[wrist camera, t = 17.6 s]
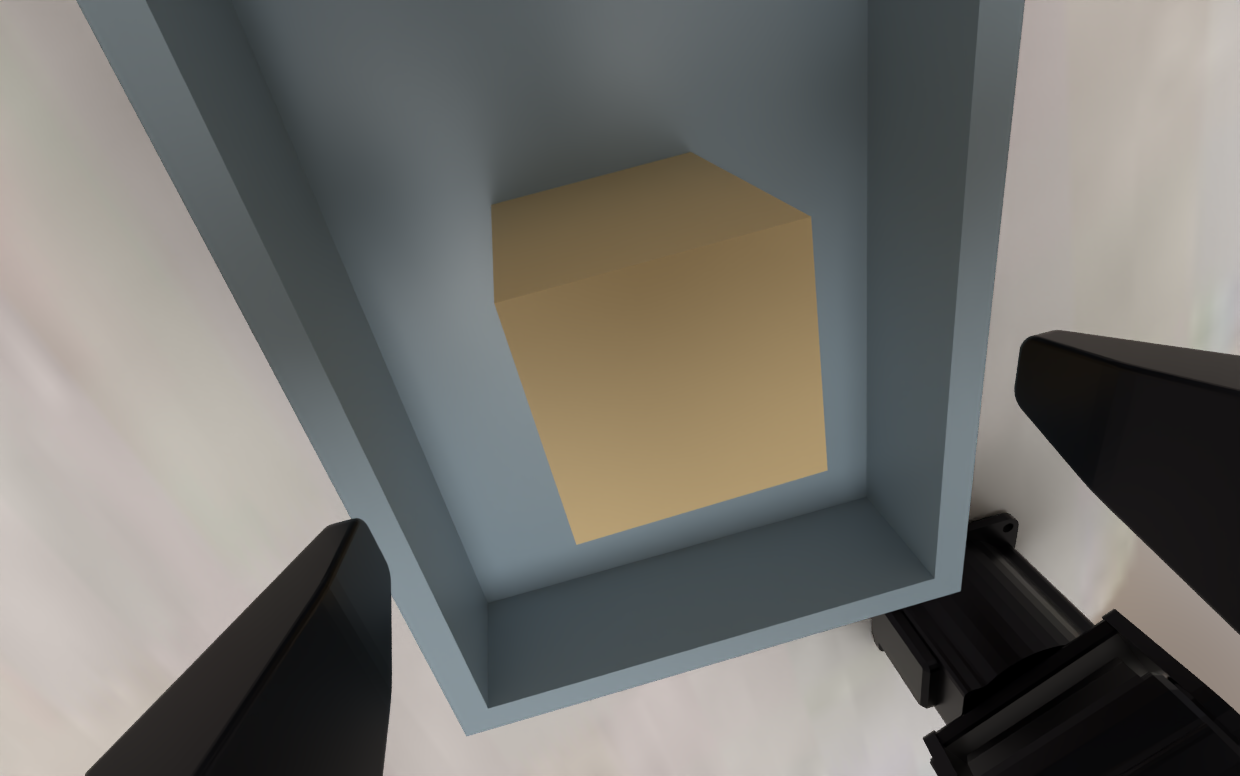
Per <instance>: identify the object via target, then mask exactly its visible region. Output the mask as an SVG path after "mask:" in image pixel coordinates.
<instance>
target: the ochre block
mask: <svg viewBox="0 0 1240 776" xmlns="http://www.w3.org/2000/svg"><path fill="white" fill-rule="evenodd" d="M491 221H492V251H493V281H494V304H495V307H496V310H497V313H498V316H499V319H500V322H501V325H502V328H503V331H504V334H505V337H506V340H507V342H508V345H509V348H510V351H511V354H512V357H513V360H514V363H515V366H516V369H517V372H518V375H519V378H520V381H521V384H522V386H523V389H524V392H525V395H526V398H527V401H528V404H529V407H530V410H531V413H532V416H533V419H534V422H535V425H536V428H537V431H538V433H539V436H540V439H541V442H542V445H543V448H544V451H545V454H546V457H547V460H548V463H549V466H550V469H551V472H552V475H553V478H554V480H555V483H556V486H557V489H558V492H559V495H560V498H561V501H562V504H563V507H564V510H565V513H566V516H567V519H568V522H569V525H570V527H571V530H572V533H573V536H574V539H575V542H576V545H578V544H581V543H585V542H588V541H591V540H595V539H598V538H601V537H605V536H608V535H612V534H615V533H618V532H622V531H625V530H628V529H632V528H635V527H638V526H642V525H645V524H649V523H652V522H655V521H659V520H662V519H665V518H669V517H672V516H676V515H679V514H682V513H686V512H689V511H692V510H696V509H699V508H703V507H706V506H709V505H713V504H716V503H719V502H723V501H726V500H729V499H733V498H736V497H740V496H743V495H746V494H750V493H753V492H756V491H760V490H763V489H767V488H770V487H773V486H777V485H780V484H783V483H787V482H790V481H793V480H797V479H800V478H804V477H807V476H810V475H814V474H817V473H820V472H824V471H827V470H828V468H827V453H826V438H825V422H824V407H823V391H822V376H821V361H820V345H819V330H818V314H817V299H816V284H815V268H814V253H813V237H812V222H811V216H809V215H807V214H805V213H803V212H802V211H800V210H798V209H796V208H794V207H792V206H790V205H789V204H787V203H785V202H783V201H781V200H779V199H777V198H776V197H774V196H772V195H770V194H768V193H766V192H764V191H763V190H761V189H759V188H757V187H755V186H753V185H751V184H750V183H748V182H746V181H744V180H742V179H740V178H738V177H737V176H735V175H733V174H731V173H729V172H727V171H725V170H724V169H722V168H720V167H718V166H716V165H714V164H712V163H711V162H709V161H707V160H705V159H703V158H701V157H699V156H698V155H696V154H694V153H692V152H688V153H685V154H681V155H677V156H673V157H670V158H666V159H662V160H658V161H655V162H651V163H647V164H643V165H639V166H636V167H632V168H628V169H624V170H621V171H617V172H613V173H609V174H606V175H602V176H598V177H594V178H590V179H587V180H583V181H579V182H575V183H572V184H568V185H564V186H560V187H557V188H553V189H549V190H545V191H541V192H538V193H534V194H530V195H526V196H523V197H519V198H515V199H511V200H508V201H504V202H500V203H496V204H492V205H491Z"/></svg>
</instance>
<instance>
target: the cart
mask: <svg viewBox="0 0 1240 776" xmlns="http://www.w3.org/2000/svg"><path fill="white" fill-rule="evenodd" d="M76 1H77V3H78V4H79V6H80V8H81V10H82V12H83V14H84V16H85V18H86V20H87V21H88V23H89V25H90V27H91V29H92V31H93V33H94V35H95V36H96V38H97V40H98V42H99V44H100V46H101V48H102V50H103V52H104V53H105V55H106V57H107V59H108V61H109V63H110V65H111V67H112V69H113V70H114V72H115V74H116V76H117V78H118V80H119V82H120V84H121V86H122V87H123V89H124V91H125V93H126V95H127V97H128V99H129V101H130V102H131V104H132V106H133V108H134V110H135V112H136V114H137V116H138V118H139V119H140V121H141V123H142V125H143V127H144V129H145V131H146V133H147V135H148V136H149V138H150V140H151V142H152V144H153V146H154V148H155V150H156V152H157V153H158V155H159V157H160V159H161V161H162V163H163V165H164V167H165V169H166V170H167V172H168V174H169V176H170V178H171V180H172V182H173V184H174V185H175V187H176V189H177V191H178V193H179V195H180V197H181V199H182V201H183V202H184V204H185V206H186V208H187V210H188V212H189V214H190V216H191V218H192V219H193V221H194V223H195V225H196V227H197V229H198V231H199V233H200V235H201V236H202V238H203V240H204V242H205V244H206V246H207V248H208V250H209V251H210V253H211V255H212V257H213V259H214V261H215V263H216V265H217V267H218V268H219V270H220V272H221V274H222V276H223V278H224V280H225V282H226V284H227V285H228V287H229V289H230V291H231V293H232V295H233V297H234V299H235V301H236V302H237V304H238V306H239V308H240V310H241V312H242V314H243V316H244V318H245V319H246V321H247V323H248V325H249V327H250V329H251V331H252V333H253V334H254V336H255V338H256V340H257V342H258V344H259V346H260V348H261V350H262V351H263V353H264V355H265V357H266V359H267V361H268V363H269V365H270V367H271V368H272V370H273V372H274V374H275V376H276V378H277V380H278V382H279V384H280V385H281V387H282V389H283V391H284V393H285V395H286V397H287V399H288V400H289V402H290V404H291V406H292V408H293V410H294V412H295V414H296V416H297V417H298V419H299V421H300V423H301V425H302V427H303V429H304V431H305V433H306V434H307V436H308V438H309V440H310V442H311V444H312V446H313V448H314V450H315V451H316V453H317V455H318V457H319V459H320V461H321V463H322V465H323V467H324V468H325V470H326V472H327V474H328V476H329V478H330V480H331V482H332V483H333V485H334V487H335V489H336V491H337V493H338V495H339V497H340V499H341V500H342V502H343V504H344V506H345V508H346V510H347V512H348V514H349V516H350V517H351V519H354V518H360V519H362V520H363V521H364V522H365V523H366V524H367V525H368V527H369V529H370V531H371V533H372V535H373V537H374V538H375V540H376V542H377V544H378V546H379V548H380V550H381V552H382V554H383V556H384V558H385V560H386V562H387V564H388V567H389V570H390V576H391V595H392V597H393V599H394V600H395V602H396V604H397V606H398V608H399V610H400V612H401V614H402V616H403V617H404V619H405V621H406V623H407V625H408V627H409V629H410V631H411V632H412V634H413V636H414V638H415V640H416V642H417V644H418V646H419V648H420V649H421V651H422V653H423V655H424V657H425V659H426V661H427V663H428V665H429V666H430V668H431V670H432V672H433V674H434V676H435V678H436V680H437V682H438V683H439V685H440V687H441V689H442V691H443V693H444V695H445V697H446V698H447V700H448V702H449V704H450V706H451V708H452V710H453V712H454V714H455V715H456V717H457V719H458V721H459V723H460V725H461V727H462V729H463V731H464V732H465V734H466V736H470V735H473V734H476V733H480V732H483V731H487V730H490V729H493V728H497V727H500V726H504V725H507V724H510V723H514V722H517V721H521V720H524V719H527V718H531V717H534V716H538V715H541V714H544V713H548V712H551V711H555V710H558V709H561V708H565V707H568V706H572V705H575V704H579V703H582V702H585V701H589V700H592V699H596V698H599V697H602V696H606V695H609V694H613V693H616V692H619V691H623V690H626V689H630V688H633V687H636V686H640V685H643V684H647V683H650V682H653V681H657V680H660V679H664V678H667V677H670V676H674V675H677V674H681V673H684V672H687V671H691V670H694V669H698V668H701V667H704V666H708V665H711V664H715V663H718V662H721V661H725V660H728V659H732V658H735V657H738V656H742V655H745V654H749V653H752V652H755V651H759V650H762V649H766V648H769V647H772V646H776V645H779V644H783V643H786V642H789V641H793V640H796V639H800V638H803V637H807V636H810V635H813V634H817V633H820V632H824V631H827V630H830V629H834V628H837V627H841V626H844V625H847V624H851V623H854V622H858V621H861V620H864V619H868V618H871V617H875V616H878V615H881V614H885V613H888V612H892V611H895V610H898V609H902V608H905V607H909V606H912V605H915V604H919V603H922V602H926V601H929V600H932V599H936V598H939V597H943V596H946V595H949V594H953V593H956V592H960V591H961V584H962V574H963V565H964V556H965V547H966V538H967V528H968V519H969V510H970V501H971V491H972V482H973V473H974V464H975V455H976V445H977V436H978V427H979V418H980V409H981V399H982V390H983V381H984V372H985V363H986V353H987V344H988V335H989V326H990V316H991V307H992V298H993V289H994V280H995V270H996V261H997V252H998V243H999V234H1000V224H1001V215H1002V206H1003V197H1004V188H1005V178H1006V169H1007V160H1008V151H1009V141H1010V132H1011V123H1012V114H1013V105H1014V95H1015V86H1016V77H1017V68H1018V59H1019V49H1020V40H1021V31H1022V22H1023V12H1024V3H1025V0H76ZM688 152H692V153H694V154H696V155H698V156H699V157H701V158H703V159H705V160H707V161H709V162H711V163H712V164H714V165H716V166H718V167H720V168H722V169H724V170H725V171H727V172H729V173H731V174H733V175H735V176H737V177H738V178H740V179H742V180H744V181H746V182H748V183H750V184H751V185H753V186H755V187H757V188H759V189H761V190H763V191H764V192H766V193H768V194H770V195H772V196H774V197H776V198H777V199H779V200H781V201H783V202H785V203H787V204H789V205H790V206H792V207H794V208H796V209H798V210H800V211H802V212H803V213H805V214H807V215H809V216H811V222H812V237H813V253H814V268H815V284H816V299H817V314H818V330H819V345H820V361H821V376H822V391H823V407H824V422H825V438H826V453H827V468H828V470H827V471H824V472H820V473H817V474H814V475H810V476H807V477H804V478H800V479H797V480H793V481H790V482H787V483H783V484H780V485H777V486H773V487H770V488H767V489H763V490H760V491H756V492H753V493H750V494H746V495H743V496H740V497H736V498H733V499H729V500H726V501H723V502H719V503H716V504H713V505H709V506H706V507H703V508H699V509H696V510H692V511H689V512H686V513H682V514H679V515H676V516H672V517H669V518H665V519H662V520H659V521H655V522H652V523H649V524H645V525H642V526H638V527H635V528H632V529H628V530H625V531H622V532H618V533H615V534H612V535H608V536H605V537H601V538H598V539H595V540H591V541H588V542H585V543H581V544H578V545H576V542H575V539H574V536H573V533H572V530H571V527H570V525H569V522H568V519H567V516H566V513H565V510H564V507H563V504H562V501H561V498H560V495H559V492H558V489H557V486H556V483H555V480H554V478H553V475H552V472H551V469H550V466H549V463H548V460H547V457H546V454H545V451H544V448H543V445H542V442H541V439H540V436H539V433H538V431H537V428H536V425H535V422H534V419H533V416H532V413H531V410H530V407H529V404H528V401H527V398H526V395H525V392H524V389H523V386H522V384H521V381H520V378H519V375H518V372H517V369H516V366H515V363H514V360H513V357H512V354H511V351H510V348H509V345H508V342H507V340H506V337H505V334H504V331H503V328H502V325H501V322H500V319H499V316H498V313H497V310H496V307H495V304H494V281H493V251H492V221H491V205H492V204H496V203H500V202H504V201H508V200H511V199H515V198H519V197H523V196H526V195H530V194H534V193H538V192H541V191H545V190H549V189H553V188H557V187H560V186H564V185H568V184H572V183H575V182H579V181H583V180H587V179H590V178H594V177H598V176H602V175H606V174H609V173H613V172H617V171H621V170H624V169H628V168H632V167H636V166H639V165H643V164H647V163H651V162H655V161H658V160H662V159H666V158H670V157H673V156H677V155H681V154H685V153H688Z"/></svg>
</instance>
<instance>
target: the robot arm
mask: <svg viewBox="0 0 1240 776" xmlns="http://www.w3.org/2000/svg"><path fill="white" fill-rule="evenodd" d="M1014 392H1015V397H1016V400H1017V403H1018V405H1019V406H1020V408H1021V409H1022V410H1023V411H1024V413H1025V414H1026V415H1027V416H1028V417H1029V418H1030V420H1031V421H1032V422H1033V423H1034V424H1035V426H1036V427H1037V428H1038V429H1039V430H1040V431H1041V433H1042V434H1043V435H1044V436H1045V437H1046V439H1047V440H1048V441H1049V442H1050V443H1051V444H1052V446H1053V447H1054V448H1055V449H1056V450H1057V451H1058V453H1059V454H1060V455H1061V456H1062V457H1063V459H1064V460H1065V461H1066V462H1067V463H1068V464H1069V466H1070V467H1071V468H1072V469H1073V470H1074V471H1075V473H1076V474H1077V475H1078V476H1079V477H1080V478H1081V480H1082V481H1083V482H1084V483H1085V484H1086V485H1087V486H1088V487H1089V489H1090V490H1091V491H1092V492H1093V493H1094V494H1095V495H1096V496H1097V497H1098V498H1099V499H1100V500H1101V501H1102V502H1103V503H1104V504H1105V505H1106V506H1107V507H1108V508H1109V509H1110V510H1111V511H1112V512H1113V513H1114V514H1115V515H1116V516H1117V517H1119V518H1120V519H1121V520H1122V521H1123V522H1124V523H1125V524H1126V525H1127V526H1128V527H1129V528H1130V529H1131V530H1132V531H1133V532H1134V533H1135V534H1136V535H1137V536H1138V537H1139V538H1140V539H1141V540H1142V541H1143V542H1144V543H1145V544H1146V545H1147V546H1148V547H1150V548H1151V549H1152V550H1153V551H1154V552H1155V553H1156V554H1157V555H1158V556H1159V557H1160V558H1161V559H1162V560H1163V561H1164V562H1165V563H1166V564H1167V565H1168V566H1169V567H1170V568H1171V569H1172V570H1173V571H1174V572H1175V573H1176V574H1177V575H1179V577H1181V578H1182V579H1183V580H1184V581H1185V582H1186V583H1187V584H1188V585H1189V586H1190V587H1191V588H1192V589H1193V590H1194V591H1195V592H1196V593H1197V594H1198V595H1199V596H1200V597H1201V598H1202V599H1203V600H1204V601H1205V602H1206V603H1207V604H1208V605H1210V607H1212V608H1213V609H1214V610H1215V611H1216V612H1217V613H1218V614H1219V615H1220V616H1221V617H1222V618H1223V619H1224V620H1225V621H1226V622H1227V623H1228V624H1229V625H1230V626H1231V627H1232V628H1233V629H1234V630H1235V631H1237V633H1238V634H1240V356H1239V355H1231V354H1224V353H1217V352H1210V351H1203V350H1196V349H1189V348H1182V347H1175V346H1168V345H1161V344H1154V343H1147V342H1140V341H1133V340H1126V339H1119V338H1112V337H1105V336H1098V335H1091V334H1084V333H1077V332H1070V331H1063V330H1053V331H1049V332H1045V333H1041V334H1038V335H1034V336H1030V337H1028V338H1027V339H1026V340H1024V342H1023V343H1022V345H1021V347H1020V352H1019V359H1018V366H1017V373H1016V380H1015V388H1014ZM1018 525H1019V524H1018V521H1017V520H1016V519H1015V518H1014V517H1013V516H1012V515H1011V514H1008V513H1004V514H1000V515H996V516H993V517H989V518H986V519H982V520H979V521H975V522H972V523H968V528H967V538H966V547H965V556H964V565H963V574H962V584H961V591H960V592H956V593H953V594H949V595H946V596H943V597H939V598H936V599H932V600H929V601H926V602H922V603H919V604H915V605H912V606H909V607H905V608H902V609H898V610H895V611H892V612H888V613H885V614H881V615H878V616H875V617H872V633H873V635H874V642H875V644H876V645H877V647H878V648H879V650H881V651H884V652H885V653H886V655H887V656H888V658H889V659H890V661H891V662H892V664H893V665H894V667H895V668H896V670H897V671H898V673H899V674H900V676H901V678H902V679H903V681H904V682H905V684H906V685H907V687H908V688H909V690H910V691H911V693H912V694H913V696H914V697H915V699H916V700H917V702H918V704H919V705H921V706H923V707H925V708H930V707H933V706H934V707H935V709H936V710H937V711H938V713H939V714H940V716H941V717H942V719H943V720H944V722H945V723H946V726H944V727H943V728H941V729H940V730H938V731H937V732H936V731H932V732H931V733H929V734H928V735H926V736H925V737H923V740H924V742H925V744H926V746H927V748H928V750H929V752H930V754H931V756H932V758H931V759H930V760H931V761H930V764H931V765H932V767H933V769H934V770H935V772H936V774H937V775H938V776H1240V715H1239V714H1238V713H1237V712H1236V711H1235V710H1234V709H1233V708H1232V707H1231V706H1230V705H1228V704H1227V703H1226V702H1225V701H1224V700H1223V699H1222V698H1221V697H1220V696H1218V695H1217V694H1216V693H1215V692H1214V691H1213V690H1211V689H1210V688H1209V687H1208V686H1207V685H1206V684H1204V683H1203V682H1202V681H1201V680H1200V679H1198V678H1197V677H1196V676H1195V675H1194V674H1192V673H1191V672H1190V671H1189V670H1188V669H1186V668H1185V667H1184V666H1183V665H1182V664H1180V663H1179V662H1178V661H1177V660H1176V659H1174V658H1173V657H1172V656H1171V655H1169V654H1168V653H1167V652H1166V651H1165V650H1164V649H1162V648H1161V647H1160V646H1159V645H1157V644H1156V643H1155V642H1154V641H1153V640H1152V639H1150V638H1149V637H1148V636H1147V635H1145V634H1144V633H1143V632H1142V631H1141V630H1140V629H1138V628H1137V627H1136V626H1135V625H1134V624H1132V623H1131V622H1130V621H1129V620H1128V619H1126V618H1125V617H1124V616H1123V615H1121V614H1120V613H1119V612H1118V611H1117V610H1115V609H1113V610H1111V611H1110V612H1108V613H1107V614H1105V615H1104V616H1103V617H1102V618H1103V620H1102V621H1100V622H1099V623H1097V624H1096V625H1094V624H1093V623H1092V622H1091V621H1090V620H1089V619H1088V618H1087V617H1086V616H1085V615H1084V614H1083V613H1082V612H1081V611H1080V610H1078V609H1077V608H1076V607H1075V606H1074V605H1073V604H1072V603H1071V602H1070V601H1069V600H1068V599H1067V598H1066V597H1065V596H1064V595H1063V594H1062V593H1061V592H1060V591H1059V590H1058V589H1057V588H1056V587H1054V586H1053V585H1052V584H1051V583H1050V582H1049V581H1048V580H1047V579H1046V578H1045V577H1044V576H1043V575H1042V574H1041V573H1040V572H1039V571H1038V570H1037V569H1036V568H1035V567H1034V566H1033V565H1032V564H1030V563H1029V562H1028V561H1027V560H1026V559H1025V558H1024V557H1023V556H1022V555H1021V554H1020V553H1019V552H1018V551H1017V550H1016V549H1015V544H1016V538H1017V532H1018ZM391 691H392V627H391V576H390V570H389V567H388V564H387V562H386V560H385V558H384V556H383V554H382V552H381V550H380V548H379V546H378V544H377V542H376V540H375V538H374V537H373V535H372V533H371V531H370V529H369V527H368V525H367V524H366V523H365V522H364V521H363V520H362V519H360V518H354V519H350V520H346V521H342V522H339V523H335V524H331V525H329V526H327V527H326V528H325V529H324V530H323V531H322V532H321V533H320V534H319V535H318V536H317V537H316V538H315V539H314V540H313V541H312V542H311V543H310V544H309V545H308V546H307V547H306V548H305V549H304V550H303V551H302V552H301V553H300V554H299V555H298V556H297V557H296V558H295V559H294V560H293V561H292V562H291V563H290V564H289V565H288V566H287V567H286V568H285V569H284V571H283V572H282V573H281V574H280V575H279V576H278V577H277V578H276V579H275V580H274V581H273V582H272V583H271V584H270V585H269V586H268V587H267V588H266V589H265V590H264V591H263V592H262V593H261V594H260V595H259V596H258V597H257V598H256V599H255V600H254V601H253V602H252V603H251V604H250V605H249V606H248V607H247V608H246V609H245V610H244V611H243V612H242V614H241V615H240V616H239V617H238V618H237V619H236V620H235V621H234V622H233V623H232V624H231V625H230V626H229V627H228V628H227V629H226V630H225V631H224V632H223V633H222V634H221V635H220V636H219V637H218V638H217V639H216V640H215V641H214V642H213V643H212V644H211V645H210V646H209V647H208V648H207V649H206V650H205V651H204V652H203V653H202V654H201V655H200V657H199V658H198V659H197V660H196V661H195V662H194V663H193V664H192V665H191V666H190V667H189V668H188V669H187V670H186V671H185V672H184V673H183V674H182V675H181V676H180V677H179V678H178V679H177V680H176V681H175V682H174V683H173V684H172V685H171V686H170V687H169V688H168V689H167V690H166V691H165V692H164V693H163V694H162V695H161V696H160V697H159V698H158V700H157V701H156V702H155V703H154V704H153V705H152V706H151V707H150V708H149V709H148V710H147V711H146V712H145V713H144V714H143V715H142V716H141V717H140V718H139V719H138V720H137V721H136V722H135V723H134V724H133V725H132V726H131V727H130V728H129V729H128V730H127V731H126V732H125V733H124V734H123V735H122V736H121V737H120V738H119V739H118V740H117V741H116V743H115V744H114V745H113V746H112V747H111V748H110V749H109V750H108V751H107V752H106V753H105V754H104V755H103V756H102V757H101V758H100V759H99V760H98V761H97V762H96V763H95V764H94V765H93V766H92V767H91V768H90V769H89V770H88V771H87V772H86V774H85V776H383V769H384V760H385V751H386V742H387V733H388V724H389V715H390V703H391Z"/></svg>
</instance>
